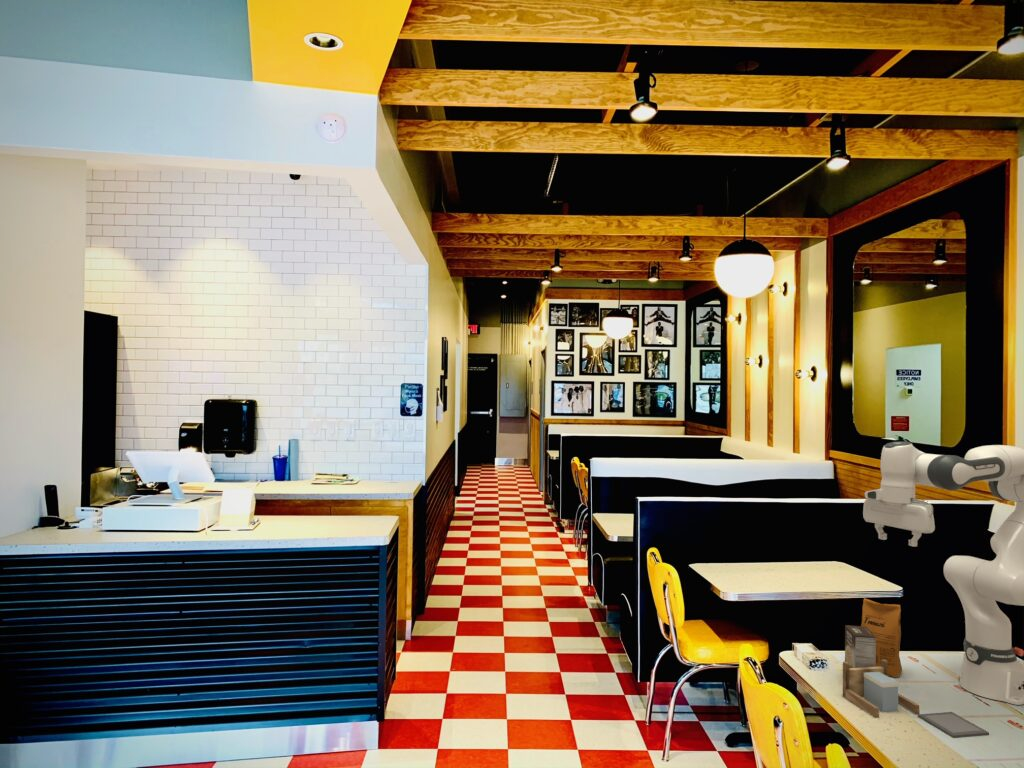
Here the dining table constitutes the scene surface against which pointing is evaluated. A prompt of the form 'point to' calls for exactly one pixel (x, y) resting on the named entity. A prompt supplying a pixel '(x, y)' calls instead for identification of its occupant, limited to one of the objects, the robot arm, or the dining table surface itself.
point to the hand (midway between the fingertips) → (897, 542)
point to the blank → (881, 691)
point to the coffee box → (860, 647)
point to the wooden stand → (855, 689)
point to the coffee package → (884, 633)
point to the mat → (953, 724)
